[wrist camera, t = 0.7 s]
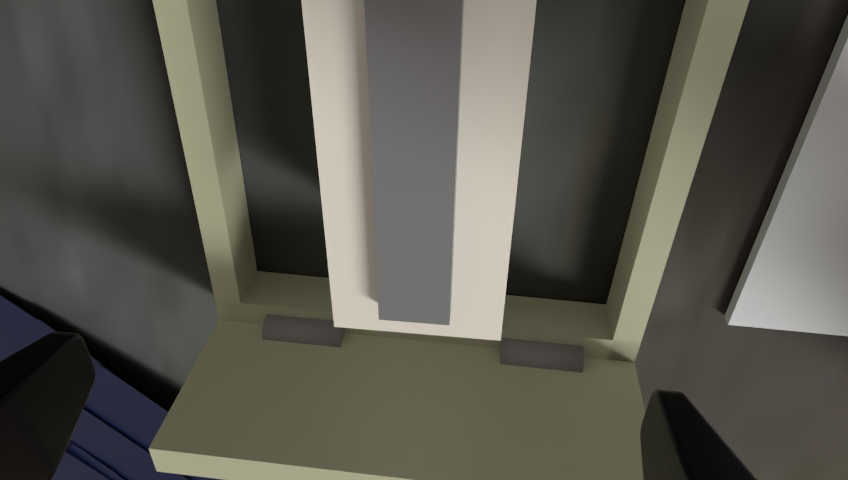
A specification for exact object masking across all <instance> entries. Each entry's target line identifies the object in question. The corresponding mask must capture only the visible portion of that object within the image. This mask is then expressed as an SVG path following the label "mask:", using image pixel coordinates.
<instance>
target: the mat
mask: <svg viewBox="0 0 848 480" xmlns="http://www.w3.org/2000/svg"><path fill="white" fill-rule="evenodd" d="M725 318H726V321H727V323H728V325H736V326H747V327H757V328H767V329H778V330H788V331H798V332H809V333H819V334H829V335H839V336H848V15H847V17H846V20H845V22H844V25H843V27H842V30H841V32H840V35H839V37H838V39H837V42H836V44H835V47H834V49H833V52H832V54H831V57H830V59H829V61H828V64H827V66H826V69H825V71H824V74H823V76H822V79H821V81H820V83H819V86H818V88H817V91H816V93H815V96H814V98H813V101H812V103H811V105H810V108H809V110H808V113H807V115H806V118H805V120H804V123H803V125H802V127H801V130H800V132H799V135H798V137H797V140H796V142H795V145H794V147H793V149H792V152H791V154H790V157H789V159H788V162H787V164H786V167H785V169H784V171H783V174H782V176H781V179H780V181H779V184H778V186H777V189H776V191H775V193H774V196H773V198H772V201H771V203H770V206H769V208H768V211H767V213H766V215H765V218H764V220H763V223H762V225H761V228H760V230H759V233H758V235H757V237H756V240H755V242H754V245H753V247H752V250H751V252H750V255H749V257H748V259H747V262H746V264H745V267H744V269H743V272H742V274H741V277H740V279H739V282H738V284H737V286H736V289H735V291H734V294H733V296H732V299H731V301H730V304H729V306H728V308H727V311H726V313H725Z"/></svg>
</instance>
